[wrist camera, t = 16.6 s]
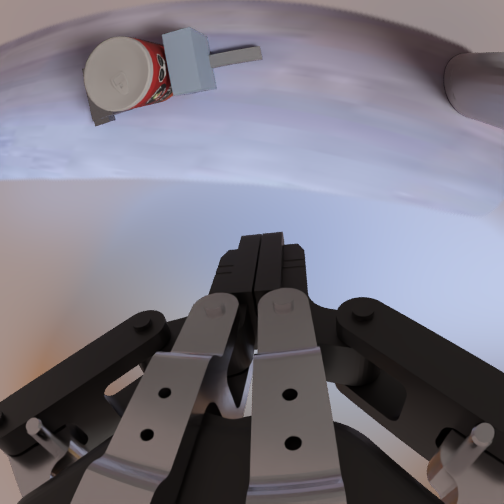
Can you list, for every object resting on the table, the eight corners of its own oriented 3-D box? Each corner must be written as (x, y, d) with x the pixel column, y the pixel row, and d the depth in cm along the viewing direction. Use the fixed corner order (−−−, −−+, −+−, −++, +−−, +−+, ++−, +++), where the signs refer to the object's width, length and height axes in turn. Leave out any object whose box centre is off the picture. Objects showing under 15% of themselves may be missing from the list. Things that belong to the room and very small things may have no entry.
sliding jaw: (256, 27, 30) (250, 14, 24) (265, 80, 34) (261, 79, 27) (180, 43, 32) (158, 35, 25) (190, 94, 35) (169, 97, 29)
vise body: (125, 55, 33) (104, 54, 28) (136, 113, 37) (116, 118, 32) (89, 69, 34) (66, 71, 29) (101, 124, 38) (79, 131, 33)
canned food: (157, 114, 37) (116, 127, 27) (118, 76, 34) (70, 80, 25) (198, 72, 34) (167, 69, 24) (156, 33, 31) (115, 21, 22)
